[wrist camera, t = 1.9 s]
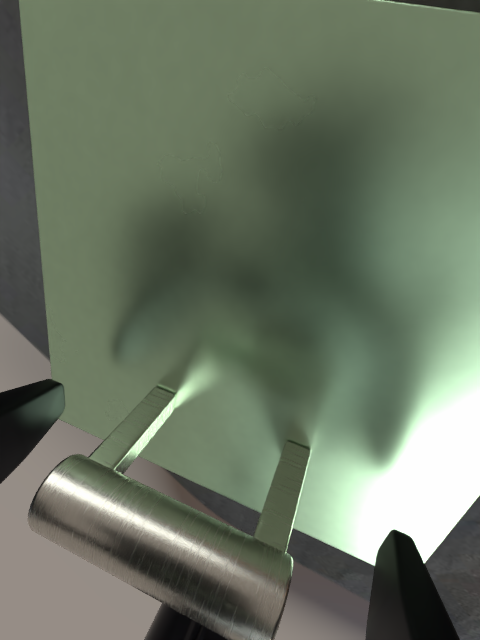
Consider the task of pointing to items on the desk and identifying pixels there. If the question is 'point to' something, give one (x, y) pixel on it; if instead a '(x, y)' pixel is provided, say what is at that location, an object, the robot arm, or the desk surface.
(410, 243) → the machine lid
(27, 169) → the desk surface
